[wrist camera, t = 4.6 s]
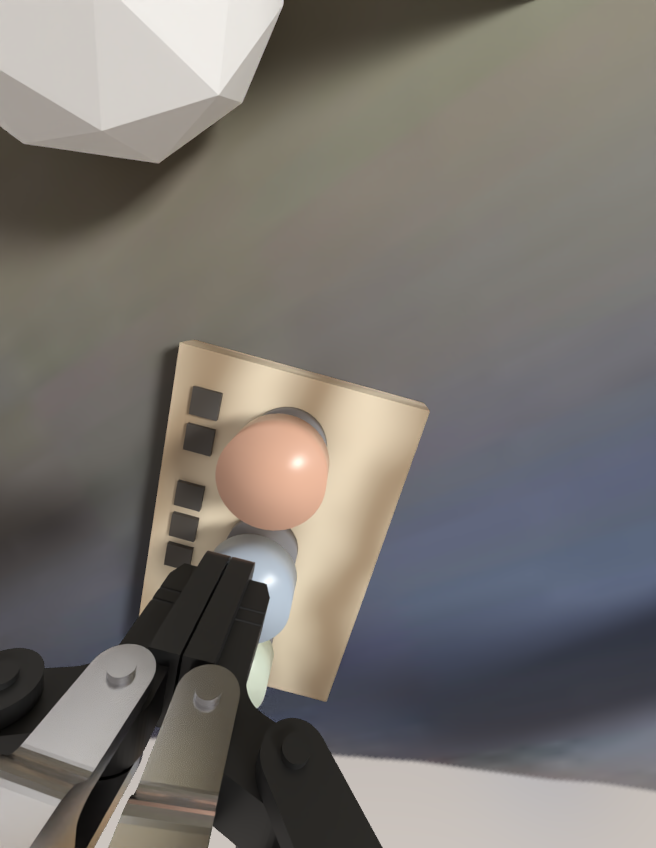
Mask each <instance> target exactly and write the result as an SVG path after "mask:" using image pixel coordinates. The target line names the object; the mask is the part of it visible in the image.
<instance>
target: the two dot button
mask: <svg viewBox="0 0 656 848" xmlns="http://www.w3.org/2000/svg"><path fill="white" fill-rule="evenodd" d="M329 463H330V462H329V453H328V449H327V446H326V444H325V442H324V440H323V438H322V437H321V435H320V434H319V433H318V432H317V430H316V429H315V428H314V427H312V426H311V425H310V424H309V423H307V422H306V421H304V420H302V419H300V418H298V417H295V416H292V415H288V414H280V413H276V414H267V415H263V416H260V417H258V418H256V419H254V420H252V421H251V422H249V423H248V424H247V425H245V426H244V427H243V428H242V429H241V430H240V431H239V433H238V434H237V435H236V436H235V437H234V438H233V439H232V440H231V441H230V442H229V443H228V444H227V446H226V447H225V448H224V449H223V451H222V453H221V454H220V457H219V459H218V462H217V466H216V473H215V475H216V485H217V489H218V492H219V495H220V497H221V499H222V501H223V502H224V504H225V506H226V507H227V508H228V509H229V511H230V512H231V513H232V514H233V515H235V516H236V517H237V518H238V519H240V520H241V521H243V522H245V523H246V524H248V525H251V526H253V527H256V528H259V529H264V530H272V531H275V530H286V529H290V528H293V527H296V526H298V525H300V524H302V523H304V522H305V521H307V520H308V519H309V518H311V517H312V516H313V515H314V514H315V512H316V511H317V510H318V508H319V507H320V505H321V503H322V501H323V498H324V495H325V491H326V485H327V479H328V472H329Z"/></svg>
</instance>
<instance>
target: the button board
mask: <svg viewBox="0 0 656 848" xmlns="http://www.w3.org/2000/svg"><path fill="white" fill-rule="evenodd" d="M429 412H430V411H429V409H428V408H427V407H426V405H425V404H424V403H422V402H419V401H415V400H411V399H408V398H404V397H401V396H397V395H393V394H390V393H386V392H382V391H379V390H375V389H372V388H368V387H364V386H361V385H357V384H353V383H350V382H346V381H343V380H339V379H335V378H332V377H328V376H324V375H321V374H317V373H313V372H310V371H306V370H303V369H299V368H295V367H292V366H288V365H284V364H281V363H277V362H274V361H270V360H266V359H263V358H259V357H255V356H252V355H248V354H245V353H241V352H237V351H234V350H230V349H226V348H223V347H219V346H215V345H212V344H208V343H205V342H201V341H197V340H190V341H185V342H180V344H179V351H178V358H177V364H176V371H175V378H174V385H173V391H172V398H171V405H170V411H169V418H168V425H167V431H166V438H165V445H164V452H163V458H162V465H161V472H160V478H159V485H158V492H157V498H156V505H155V512H154V519H153V525H152V532H151V539H150V545H149V552H148V559H147V565H146V572H145V579H144V586H143V592H142V599H141V606H140V612H139V616H140V615H141V613H142V612H143V610H144V609H145V607H146V606H147V605H148V603H149V602H150V600H152V598H153V596H154V595H155V593H156V592H157V590H158V589H160V586H161V585H162V583H163V582H164V580H165V579H166V577H167V576H168V575H169V573H170V572H172V571H173V570H175V569H176V568H178V567H179V566H181V565H182V564H184V563H186V564H190V565H194V566H198V564H199V563H200V561H201V559H202V558H203V556H204V555H205V553H206V552H207V551H212V552H213V551H214V550H215V548H216V547H217V546H218V545H219V544H220V543H222V542H223V541H225V540H226V539H228V538H230V537H233V536H236V535H242V534H255V535H260V536H264V537H267V538H269V539H271V540H273V541H275V542H277V543H278V544H279V545H281V546H282V547H283V548H284V549H285V550H286V551H287V552H288V553H289V555H290V556H291V558H292V559H293V561H294V564H295V567H296V571H297V581H296V586H295V591H294V596H293V600H292V605H291V610H290V614H289V619H288V621H287V623H286V625H285V627H284V628H283V629H282V631H281V632H280V633H279V634H278V635H276V636H275V637H273V638H272V639H270V641H271V644H272V646H273V651H274V658H273V662H272V667H271V671H270V675H269V680H268V684H267V686H268V687H272V688H276V689H280V690H283V691H287V692H291V693H295V694H298V695H302V696H306V697H310V698H314V699H317V700H321V701H325V702H326V701H327V699H328V696H329V693H330V690H331V687H332V685H333V682H334V679H335V676H336V673H337V671H338V668H339V665H340V662H341V659H342V657H343V654H344V651H345V648H346V645H347V642H348V640H349V637H350V634H351V631H352V628H353V626H354V623H355V620H356V617H357V614H358V612H359V609H360V606H361V603H362V600H363V598H364V595H365V592H366V589H367V586H368V584H369V581H370V578H371V575H372V572H373V569H374V567H375V564H376V561H377V558H378V555H379V553H380V550H381V547H382V544H383V541H384V539H385V536H386V533H387V530H388V527H389V525H390V522H391V519H392V516H393V513H394V511H395V508H396V505H397V502H398V499H399V496H400V494H401V491H402V488H403V485H404V482H405V480H406V477H407V474H408V471H409V468H410V466H411V463H412V460H413V457H414V454H415V452H416V449H417V446H418V443H419V440H420V438H421V435H422V432H423V429H424V426H425V423H426V421H427V418H428V415H429ZM276 413H280V414H288V415H292V416H295V417H298V418H300V419H302V420H304V421H306V422H307V423H309V424H310V425H311V426H312V427H314V428H315V429H316V430H317V432H318V433H319V434H320V435H321V437H322V438H323V440H324V442H325V444H326V446H327V449H328V453H329V462H330V463H329V472H328V479H327V485H326V491H325V495H324V498H323V501H322V503H321V505H320V507H319V508H318V510H317V511H316V512H315V514H314V515H313V516H312V517H311V518H309V519H308V520H307V521H305V522H304V523H302V524H300V525H298V526H296V527H293V528H290V529H286V530H275V531H272V530H264V529H259V528H256V527H253V526H251V525H248V524H246V523H245V522H243V521H241V520H240V519H238V518H237V517H236V516H235V515H233V514H232V513H231V512H230V511H229V509H228V508H227V507H226V506H225V504H224V502H223V501H222V499H221V497H220V495H219V492H218V489H217V485H216V475H215V473H216V466H217V462H218V459H219V457H220V454H221V453H222V451H223V449H224V448H225V447H226V446H227V444H228V443H229V442H230V441H231V440H232V439H233V438H234V437H235V436H236V435H237V434H238V433H239V431H240V430H241V429H242V428H243V427H244V426H245V425H247V424H248V423H249V422H251V421H252V420H254V419H256V418H258V417H260V416H263V415H267V414H276Z"/></svg>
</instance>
